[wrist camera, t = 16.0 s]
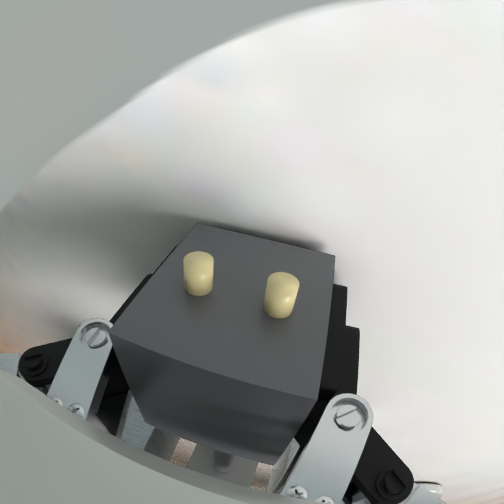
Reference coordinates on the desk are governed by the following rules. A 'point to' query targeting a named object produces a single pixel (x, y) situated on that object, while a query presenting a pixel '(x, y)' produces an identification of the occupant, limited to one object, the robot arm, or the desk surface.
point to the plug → (228, 347)
